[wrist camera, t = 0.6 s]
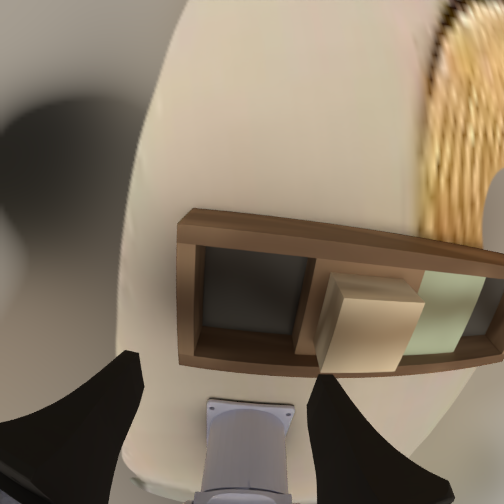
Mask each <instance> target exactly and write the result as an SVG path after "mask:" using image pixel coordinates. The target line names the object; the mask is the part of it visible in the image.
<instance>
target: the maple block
mask: <svg viewBox="0 0 504 504" xmlns="http://www.w3.org/2000/svg"><path fill="white" fill-rule="evenodd" d="M424 305H425V302H424V301H423V300H422V299H421V298H420V296H419V295H418V294H417V293H416V292H415V291H414V290H413V289H412V288H411V287H410V285H409V284H408V283H407V282H406V281H405V280H404V279H396V278H385V277H375V276H364V275H354V274H344V273H334V272H331V274H330V278H329V282H328V286H327V290H326V294H325V299H324V302H323V306H322V310H321V314H320V318H319V322H318V325H317V329H316V333H315V336H314V340H313V343H314V347H315V352H316V356H317V360H318V364H319V368H320V373H369V372H393V371H395V370H396V368H397V366H398V364H399V362H400V360H401V358H402V356H403V354H404V352H405V350H406V348H407V345H408V343H409V341H410V339H411V337H412V334H413V332H414V330H415V327H416V325H417V323H418V320H419V318H420V315H421V313H422V310H423V308H424Z"/></svg>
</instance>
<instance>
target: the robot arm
mask: <svg viewBox="0 0 504 504" xmlns="http://www.w3.org/2000/svg"><path fill="white" fill-rule="evenodd" d="M143 390H144V382H143V376H142V370H141V364H140V358H139V353H136V352H132V351H127V350H125V351H123V352H122V353H121V354H120V355H118V356H117V357H116V358H115V359H114V360H113V361H111V362H110V363H109V364H108V365H107V366H106V367H104V368H103V369H102V370H101V371H100V372H98V373H97V374H96V375H95V376H93V377H92V378H91V379H90V380H88V381H87V382H86V383H84V384H83V385H82V386H80V387H79V388H77V389H76V390H75V391H73V392H72V393H70V394H69V395H67V396H65V397H64V398H62V399H60V400H59V401H57V402H55V403H53V404H51V405H49V406H47V407H45V408H43V409H41V410H39V411H36V412H34V413H32V414H29V415H26V416H23V417H20V418H17V419H14V420H10V421H6V422H1V423H0V504H108V501H109V495H110V489H111V485H112V480H113V476H114V471H115V467H116V464H117V460H118V456H119V453H120V450H121V447H122V445H123V442H124V440H125V438H126V435H127V433H128V431H129V428H130V426H131V424H132V421H133V419H134V417H135V414H136V412H137V410H138V407H139V404H140V401H141V397H142V394H143ZM294 412H295V408H294V406H289V405H268V404H254V403H242V402H232V401H223V400H215V399H210V400H208V401H207V453H206V459H205V466H204V473H203V479H202V486H201V492H195V496H194V501H193V500H187V501H185V502H184V503H183V504H292V495H291V494H288V480H287V463H286V447H285V437H286V434H287V431H288V429H289V426H290V423H291V421H292V418H293V415H294ZM307 423H308V431H309V437H310V443H311V448H312V454H313V459H314V465H315V471H316V480H317V504H451V503H452V502H453V501H454V499H455V496H454V494H453V491H452V488H451V486H450V483H449V481H448V480H445V479H443V478H441V477H439V476H437V475H435V474H433V473H431V472H429V471H427V470H425V469H424V468H422V467H420V466H419V465H417V464H415V463H414V462H413V461H411V460H410V459H408V458H407V457H406V456H404V455H403V454H402V453H400V452H399V451H398V450H396V449H395V448H394V447H393V446H392V445H391V444H389V443H388V442H387V441H386V440H385V439H384V438H383V437H382V436H381V435H380V434H379V433H378V432H377V431H376V430H375V429H374V428H373V427H372V425H371V424H370V423H369V422H368V421H367V420H366V418H365V417H364V416H363V415H362V414H361V412H360V411H359V410H358V408H357V407H356V406H355V405H354V403H353V402H352V401H351V399H350V398H349V396H348V395H347V394H346V392H345V391H344V389H343V388H342V387H341V385H340V384H339V382H338V381H337V379H336V378H335V376H334V375H333V374H318V377H317V380H316V382H315V385H314V388H313V391H312V393H311V396H310V398H309V401H308V404H307ZM293 504H300V503H293Z"/></svg>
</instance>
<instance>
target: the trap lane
mask: <svg viewBox="0 0 504 504" xmlns="http://www.w3.org/2000/svg"><path fill="white" fill-rule="evenodd" d="M331 272H334V273H344V274H354V275H364V276H375V277H385V278H396V279H404V280H405V281H406V282H407V283H408V284H409V285H410V287H411V288H412V289H413V290H414V291H415V292H416V293H417V294H418V295H419V296H420V298H421V299H422V300H423V301H424V302H425V305H424V308H423V310H422V313H421V315H420V318H419V320H418V323H417V325H416V327H415V330H414V332H413V334H412V337H411V339H410V341H409V343H408V345H407V348H406V350H405V352H404V354H403V356H402V358H401V360H400V362H399V364H398V366H397V368H396V370H395V371H393V372H369V373H320V368H319V364H318V360H317V356H316V352H315V347H314V343H313V340H314V336H315V333H316V329H317V325H318V322H319V318H320V314H321V310H322V306H323V302H324V299H325V294H326V290H327V286H328V282H329V278H330V274H331ZM176 298H177V336H178V357H179V365H184V366H190V367H197V368H204V369H211V370H219V371H227V372H236V373H246V374H257V375H270V376H286V377H310V378H317V377H318V374H333V375H334V376H335V378H364V377H387V376H402V375H415V374H425V373H434V372H443V371H450V370H457V369H464V368H470V367H476V366H482V365H487V364H492V363H497V362H502V361H503V359H504V254H502V253H498V252H493V251H488V250H483V249H478V248H473V247H468V246H463V245H457V244H452V243H447V242H441V241H436V240H430V239H424V238H419V237H413V236H407V235H401V234H395V233H388V232H382V231H376V230H369V229H362V228H356V227H349V226H342V225H335V224H328V223H320V222H313V221H305V220H297V219H289V218H281V217H273V216H264V215H256V214H247V213H237V212H228V211H218V210H208V209H197V208H193V209H192V210H191V211H190V212H189V213H188V214H187V215H186V216H185V217H184V218H183V219H182V220H181V221H180V222H179V223H178V224H177V256H176Z"/></svg>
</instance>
